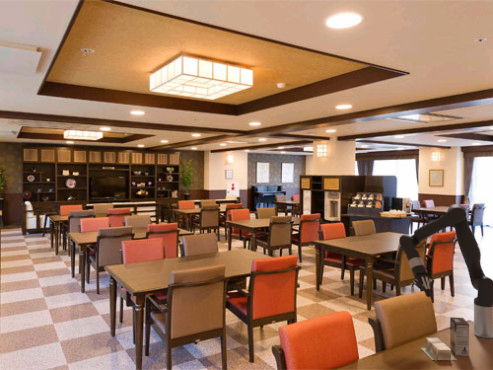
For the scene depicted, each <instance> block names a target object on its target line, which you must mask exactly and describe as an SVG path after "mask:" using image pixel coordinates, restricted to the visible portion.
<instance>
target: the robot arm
mask: <svg viewBox="0 0 493 370" xmlns="http://www.w3.org/2000/svg"><path fill="white" fill-rule="evenodd" d="M467 215H468V214H467V210H466V209H465V207H464V206H463V205H461V204H457V203H456V204H451V205H450V206H449V207H448V208H447V211H446V213H445V214H444V215H443V216H441V217H439V218H438V219H436V220H432V221H430V222H428V223H425V224H423V225H422V226H420V227H418V228H417V229H415V230H414V231H413V234H412V235H411V236H410V235H408V234H402V235H401V236H400V237H399V241H398V242H399V245H400V247H401V248H402V250H403V253H405V256H406V259H407V261H408V262H407V263H408V265H409V268H410V270H411V272H412V275H413V277H414V280H413V281H412V284H413V285H414V286H415V287H417V289H420V291H424V295H425V296H426V297H427V298H431V297H433V294H432V291H431V289H433V288H434V283H435V279H432V278H430V276H429V274H428V270H427V268H426V265H425V263H424V261H423V259H422V257H421V255H420V253H419V251H418V250H417V248H416V247H417V246H418V245H419V244H421V242H422V241H424V240H426V239H428V238H429V237H431V236H434V235H435V234H437V233H439V232H440V231H442V230H444V229H446V228H449V227H451V226H453V227H454V230H455V235H456V240H457V244H458V247H459V249H460V253H461V255H462V258H463V261H464V264H465V265H466V269H467V272H468V276H469V280H470V283H471V286H472V287H473V289H475V290H476V291H477V296H475V297H474V298H473V334H474V335H475V337H479V338H483V339H492V338H493V279H492V278H490V277H488V276H486V275H485V273H484V270H483V268H482V266H481V264H482V263H481V260H482V259H481V256H482V253H481V250H480V247H479V244H478V241H477V239H476V237H475V235H474V233H473V231H472V229H471V227H470V225H469V222H468V217H467Z"/></svg>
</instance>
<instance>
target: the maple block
mask: <svg viewBox="0 0 493 370" xmlns="http://www.w3.org/2000/svg"><path fill="white" fill-rule="evenodd" d="M425 348H427V349H428V350H429V351H430V352H431V353H432V354H433V355H434V356H435V357H436V358H437V359H438V360H451V355H452V349H451V347H448V345H447V344H445V343H444V342H443V341H442V340H441V339H440V338H438V336H437V337H435V336H434V337H429V336H428V337H425Z"/></svg>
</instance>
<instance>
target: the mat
mask: <svg viewBox="0 0 493 370" xmlns="http://www.w3.org/2000/svg"><path fill="white" fill-rule="evenodd" d="M420 350H422V351H423V353H424V354H425V355H426V356H428V358H429V359H430V360H431V361H432V360H435V361H437V360H438V359H437V358H436V357H435V356H434V355H433V354H432V353H431V352H430V351H429V350H428V349H427V348H426V347H420ZM435 361H434V362H435ZM450 361H458V359H457V358H456V357H454V355H452V354H451V360H450Z"/></svg>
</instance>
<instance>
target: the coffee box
mask: <svg viewBox="0 0 493 370" xmlns="http://www.w3.org/2000/svg"><path fill="white" fill-rule="evenodd" d="M449 320H450V321H449V326H450V327H449V331H450V333H449V335H450V336H449V340H450V342H449V343H450V347H449V348H450V349H451V351H452V353H454V355H455V356H461V357H462V356H464V357H469V356H470V323H469V322H467V320H466V319H465V318H464V317H454V316H453V317H452V316H451V317H449Z"/></svg>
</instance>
